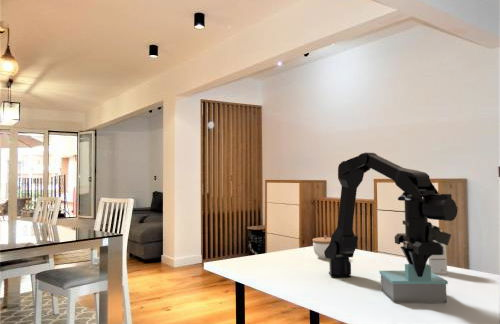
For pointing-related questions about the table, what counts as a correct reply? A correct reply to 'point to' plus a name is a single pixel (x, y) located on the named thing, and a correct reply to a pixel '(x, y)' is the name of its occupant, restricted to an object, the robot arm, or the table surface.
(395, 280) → the lid
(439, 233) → the robot arm
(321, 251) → the lidded jar
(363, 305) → the table surface
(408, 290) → the tub
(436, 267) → the syrup box
